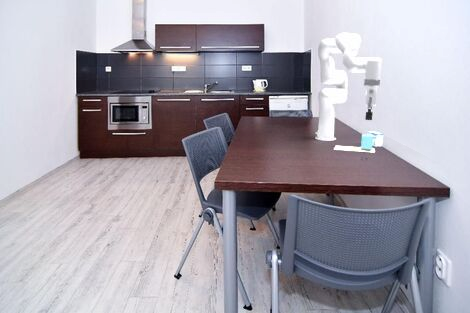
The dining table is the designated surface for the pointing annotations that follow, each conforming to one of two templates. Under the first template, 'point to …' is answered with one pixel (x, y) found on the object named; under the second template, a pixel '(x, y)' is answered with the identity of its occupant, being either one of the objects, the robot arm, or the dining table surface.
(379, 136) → the medicine box
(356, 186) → the dining table surface
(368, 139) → the pale aqua block
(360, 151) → the base board
